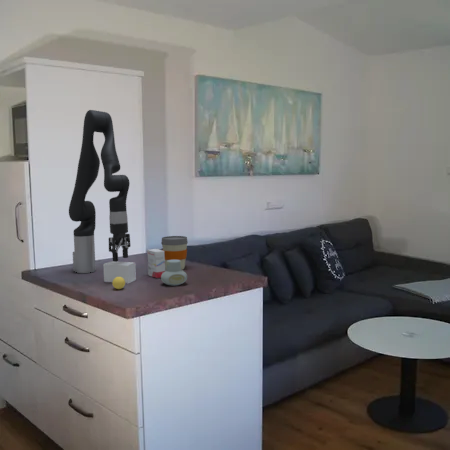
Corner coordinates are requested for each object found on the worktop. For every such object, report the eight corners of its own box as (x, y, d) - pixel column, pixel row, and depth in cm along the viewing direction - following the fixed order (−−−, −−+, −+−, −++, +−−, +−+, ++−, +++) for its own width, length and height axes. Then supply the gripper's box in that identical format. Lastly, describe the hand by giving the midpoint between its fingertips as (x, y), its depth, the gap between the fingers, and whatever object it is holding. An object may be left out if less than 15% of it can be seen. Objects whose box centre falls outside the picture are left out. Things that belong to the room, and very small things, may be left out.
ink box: (166, 277, 225) (165, 250, 224) (155, 278, 223) (155, 252, 221) (157, 273, 233) (156, 248, 231) (147, 275, 230) (146, 249, 228)
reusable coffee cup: (164, 266, 251) (163, 235, 249) (189, 265, 250) (188, 235, 248) (160, 271, 238) (159, 239, 236) (186, 271, 238) (186, 239, 236)
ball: (110, 290, 203) (109, 277, 202) (116, 287, 207) (116, 275, 207) (121, 290, 201) (120, 278, 201) (127, 287, 206) (127, 275, 205)
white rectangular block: (104, 281, 217) (103, 264, 217) (112, 278, 224) (111, 261, 223) (128, 283, 214) (127, 265, 213) (136, 280, 220) (135, 262, 219)
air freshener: (184, 281, 218) (183, 258, 216) (189, 285, 210) (189, 261, 209) (159, 283, 214) (158, 259, 213) (163, 287, 206) (163, 263, 205)
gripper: (119, 220, 224) (121, 256, 226) (101, 223, 210) (104, 262, 212) (134, 220, 222) (136, 257, 223) (118, 223, 208) (119, 262, 210)
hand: (120, 259), depth 218 cm, fingers open, 8 cm apart
